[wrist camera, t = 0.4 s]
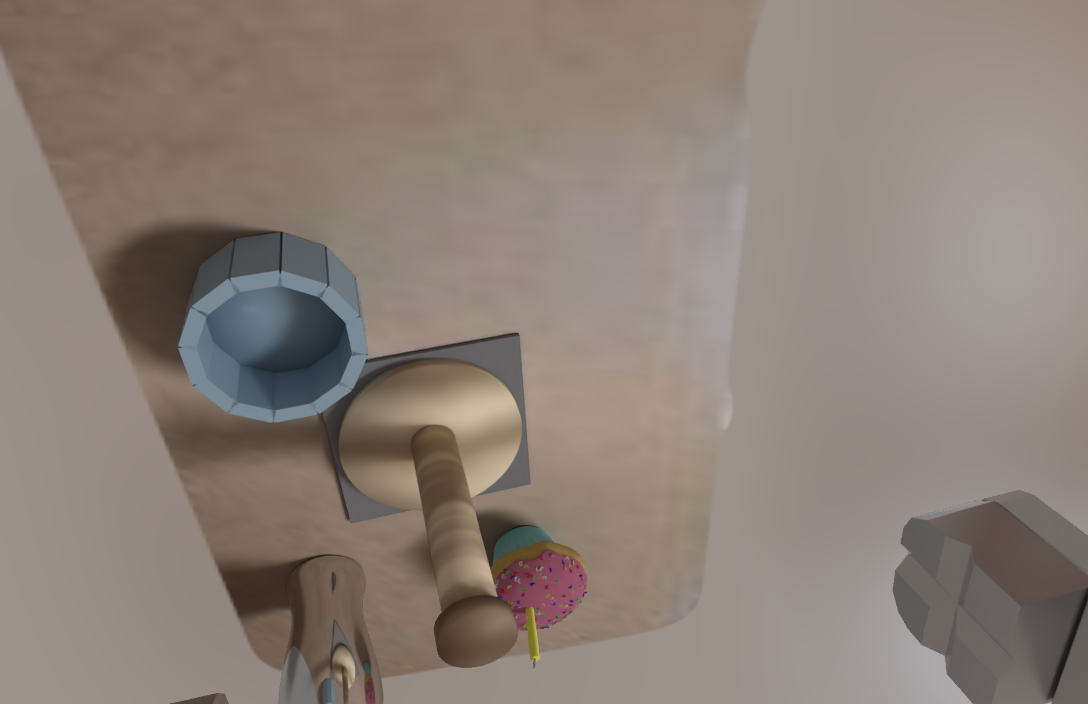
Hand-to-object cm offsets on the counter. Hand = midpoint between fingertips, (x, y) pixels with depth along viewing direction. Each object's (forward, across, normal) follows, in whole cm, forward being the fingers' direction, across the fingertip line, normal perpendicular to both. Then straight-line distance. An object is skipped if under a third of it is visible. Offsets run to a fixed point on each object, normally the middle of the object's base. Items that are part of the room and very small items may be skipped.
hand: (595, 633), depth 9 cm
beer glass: (+44, +10, +37) cm, 58 cm away
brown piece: (+42, 0, +24) cm, 48 cm away
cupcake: (+44, -6, +38) cm, 58 cm away
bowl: (+41, +8, +12) cm, 43 cm away
